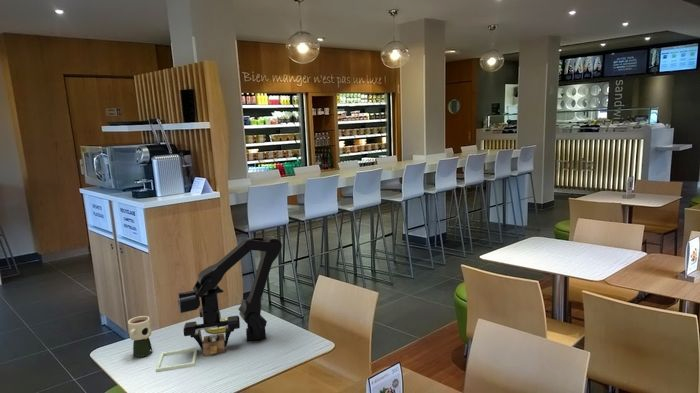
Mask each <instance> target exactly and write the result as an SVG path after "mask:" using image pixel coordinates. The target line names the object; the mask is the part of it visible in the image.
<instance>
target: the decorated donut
mask: <svg viewBox="0 0 700 393" xmlns="http://www.w3.org/2000/svg"><path fill="white" fill-rule="evenodd" d="M226 320H228V317H221V320H220V321H226ZM225 330H226V326H223V327H216V328H210V329H205V331H206V333H208V334H212V335H217V334H223V333H225Z"/></svg>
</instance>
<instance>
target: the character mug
mask: <svg viewBox="0 0 700 393" xmlns="http://www.w3.org/2000/svg"><path fill="white" fill-rule="evenodd" d="M127 325H128V332H129V334H128V335H129V338H130V340H131V341H133V342H132V344H133V345H132V346H133V348H132V355H133V356H135V357H146V356H148V355H150V354H151V352H153V348H152V343H151V340H150V337H151V335H152V329H151V319H150V316H147V315H140V316H136V317H132V318H130V319H129V320H128V321H127Z"/></svg>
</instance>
